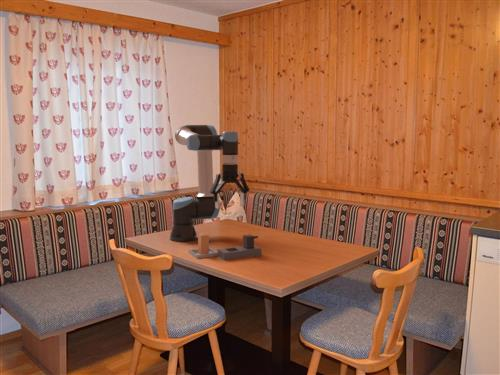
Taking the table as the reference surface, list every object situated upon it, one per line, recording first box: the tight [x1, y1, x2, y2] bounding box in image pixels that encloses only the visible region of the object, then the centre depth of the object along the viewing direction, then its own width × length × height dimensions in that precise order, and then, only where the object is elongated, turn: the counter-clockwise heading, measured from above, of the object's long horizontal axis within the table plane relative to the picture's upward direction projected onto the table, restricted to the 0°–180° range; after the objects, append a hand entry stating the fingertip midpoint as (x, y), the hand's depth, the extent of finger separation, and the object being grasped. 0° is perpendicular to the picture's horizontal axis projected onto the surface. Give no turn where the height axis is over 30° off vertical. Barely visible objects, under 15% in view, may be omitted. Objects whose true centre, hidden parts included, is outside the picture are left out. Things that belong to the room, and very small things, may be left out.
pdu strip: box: [217, 234, 262, 261], centre depth 227 cm, size 8×20×10 cm, turn 118°
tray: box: [188, 246, 218, 259], centre depth 229 cm, size 11×11×2 cm
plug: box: [197, 232, 210, 255], centre depth 229 cm, size 4×4×10 cm
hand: (229, 207), depth 225 cm, fingers open, 13 cm apart
